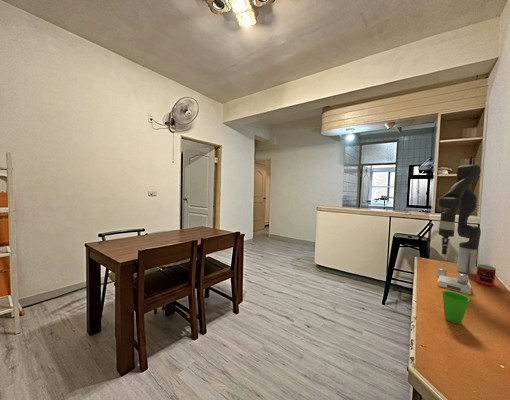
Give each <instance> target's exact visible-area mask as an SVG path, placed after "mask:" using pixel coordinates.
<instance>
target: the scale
mask: <svg viewBox="0 0 510 400" xmlns="http://www.w3.org/2000/svg"><path fill="white" fill-rule="evenodd" d="M437 287H441V288H444V289H449V290H451V291H455V292H459V293H460V292H461V293H462V294H463V293H464V294H467V295H471V294H472V286H471V283H470V281H468V285H464V284H460V283H458V282H457V278H455V277H450V276H447V275H446V276H443V275H440V276H439V277H438V279H437Z"/></svg>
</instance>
